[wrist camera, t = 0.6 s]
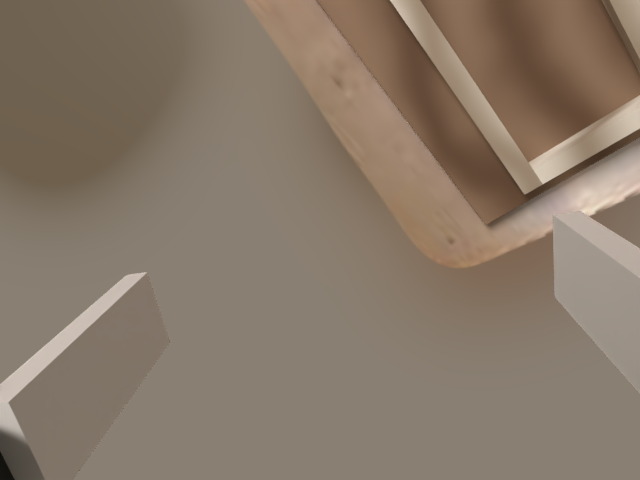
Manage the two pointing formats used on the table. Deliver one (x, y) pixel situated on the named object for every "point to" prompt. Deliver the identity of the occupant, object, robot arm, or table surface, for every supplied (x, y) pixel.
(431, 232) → the table surface
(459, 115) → the locating board
